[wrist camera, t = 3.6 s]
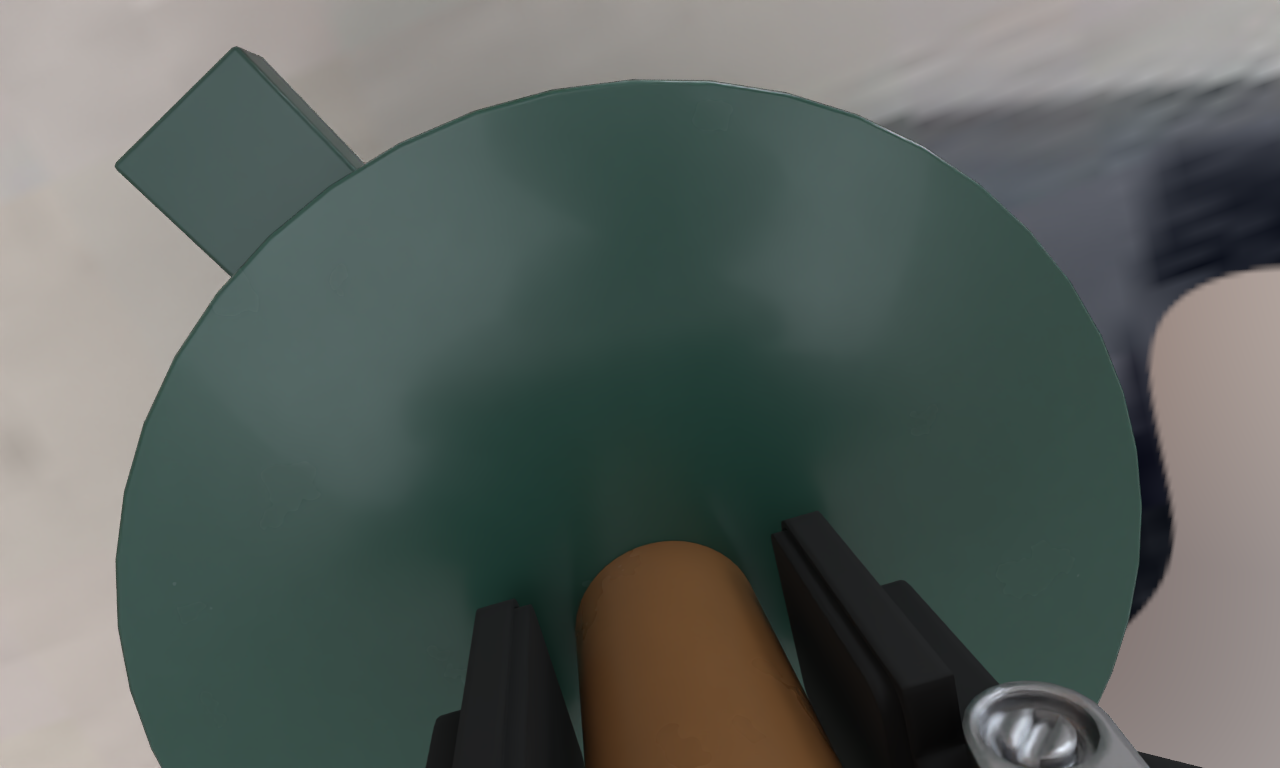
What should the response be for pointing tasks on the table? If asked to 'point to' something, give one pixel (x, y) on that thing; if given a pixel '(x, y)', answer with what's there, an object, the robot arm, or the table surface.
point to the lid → (616, 436)
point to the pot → (236, 158)
